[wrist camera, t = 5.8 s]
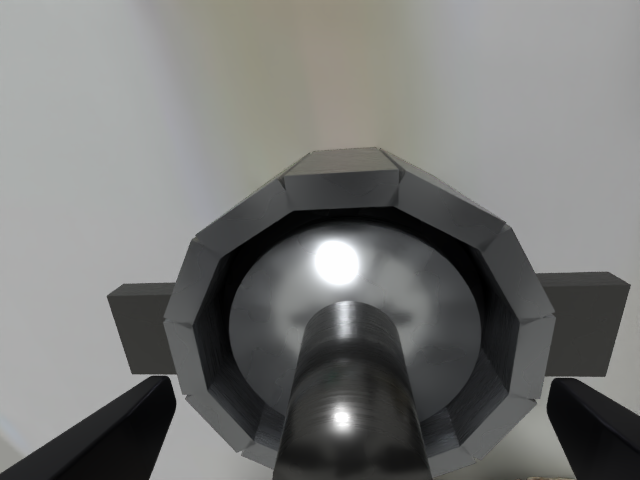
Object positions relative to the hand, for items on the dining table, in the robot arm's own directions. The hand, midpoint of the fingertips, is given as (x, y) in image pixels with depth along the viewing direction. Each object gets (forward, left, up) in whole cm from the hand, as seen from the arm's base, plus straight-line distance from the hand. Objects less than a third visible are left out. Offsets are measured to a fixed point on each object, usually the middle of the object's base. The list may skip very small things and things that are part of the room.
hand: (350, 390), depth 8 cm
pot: (0, 0, -8) cm, 8 cm away
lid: (0, 0, -3) cm, 3 cm away
